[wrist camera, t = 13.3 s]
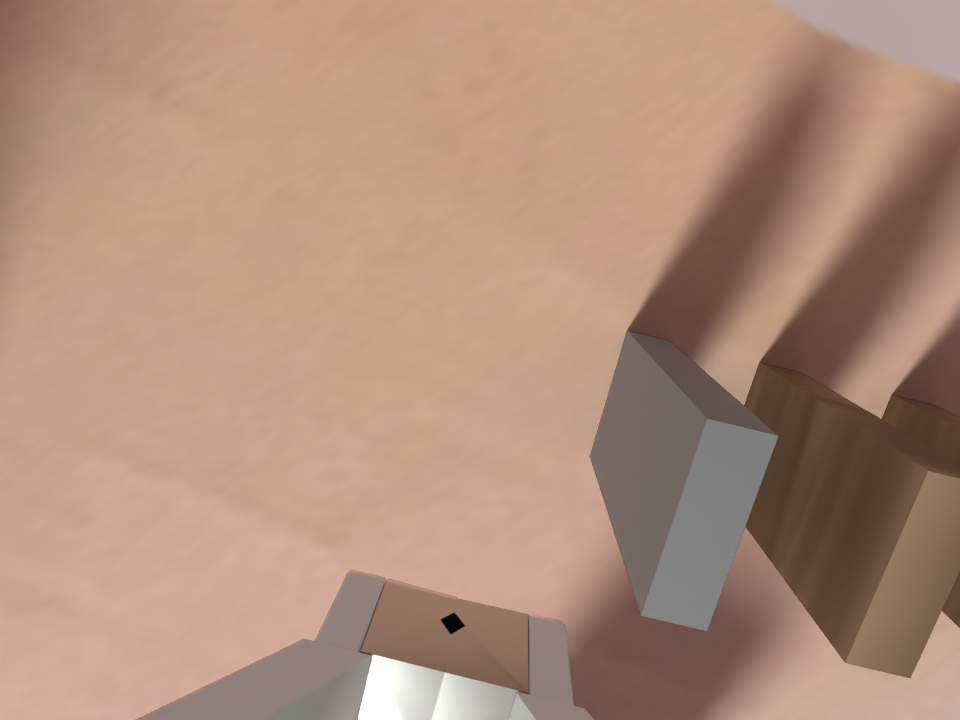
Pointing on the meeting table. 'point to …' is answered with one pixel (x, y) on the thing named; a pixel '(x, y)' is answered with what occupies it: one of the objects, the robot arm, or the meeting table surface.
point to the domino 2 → (938, 433)
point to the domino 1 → (855, 520)
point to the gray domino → (676, 477)
